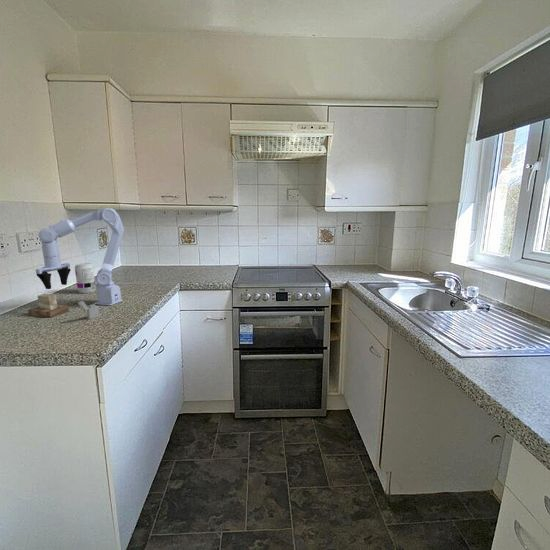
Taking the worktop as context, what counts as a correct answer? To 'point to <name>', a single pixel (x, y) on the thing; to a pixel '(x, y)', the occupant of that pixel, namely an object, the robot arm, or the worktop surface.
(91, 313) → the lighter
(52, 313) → the holder
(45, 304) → the peg
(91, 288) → the supplement can
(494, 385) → the worktop surface
